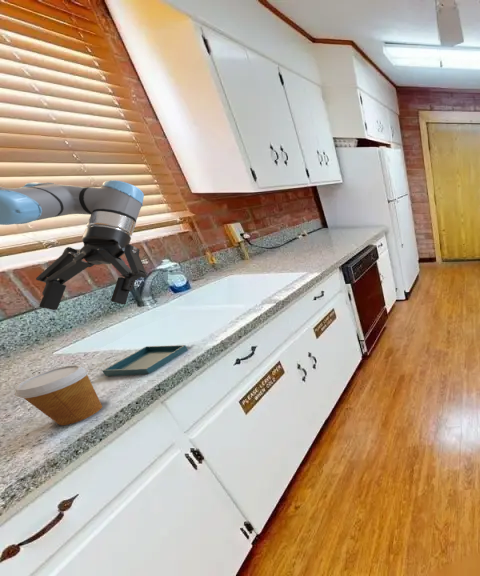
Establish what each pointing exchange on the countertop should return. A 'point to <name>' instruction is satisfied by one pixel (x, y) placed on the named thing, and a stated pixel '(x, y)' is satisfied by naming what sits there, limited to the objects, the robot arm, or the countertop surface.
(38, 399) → the disposable coffee cup
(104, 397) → the countertop surface
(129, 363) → the cup tray
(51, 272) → the robot arm
